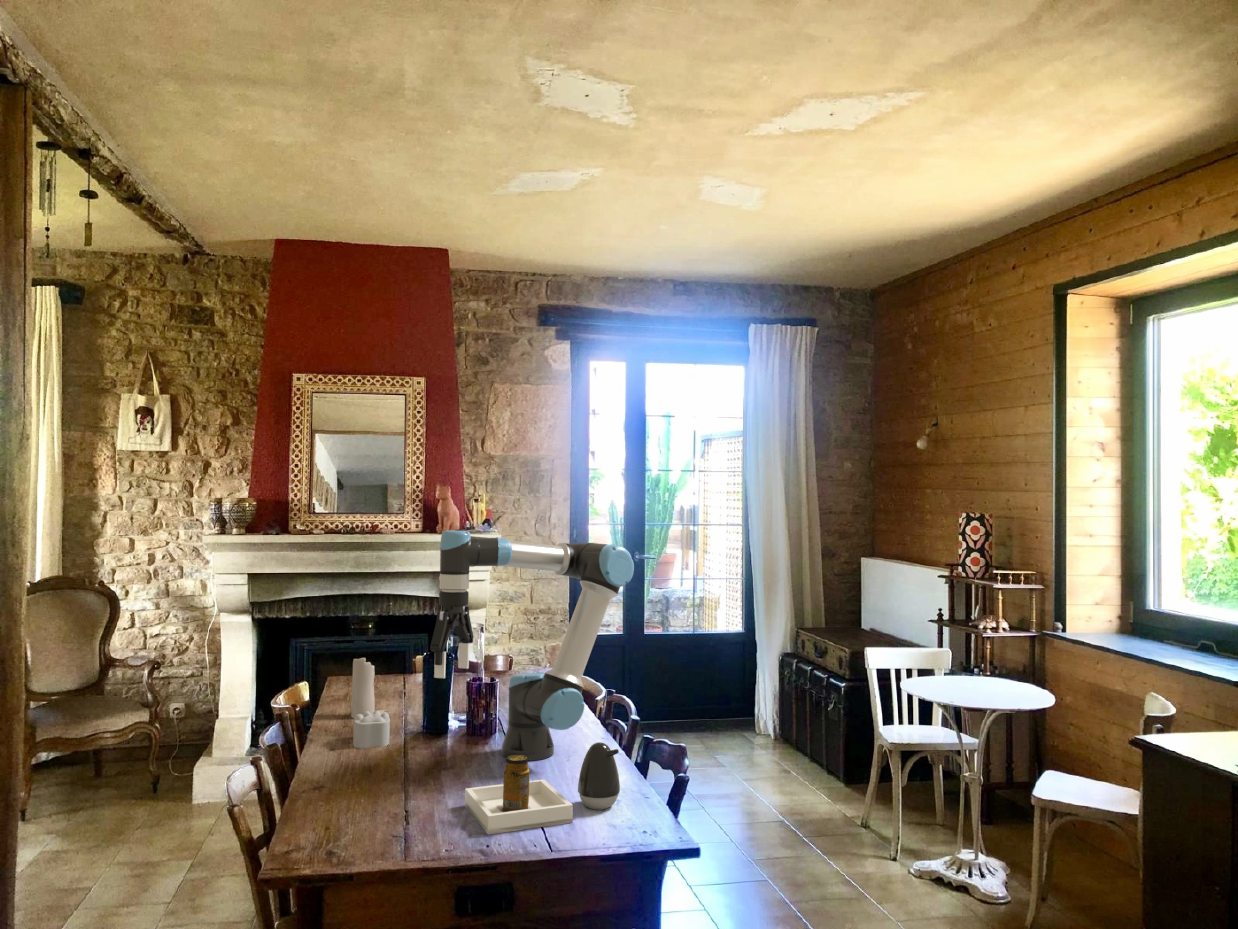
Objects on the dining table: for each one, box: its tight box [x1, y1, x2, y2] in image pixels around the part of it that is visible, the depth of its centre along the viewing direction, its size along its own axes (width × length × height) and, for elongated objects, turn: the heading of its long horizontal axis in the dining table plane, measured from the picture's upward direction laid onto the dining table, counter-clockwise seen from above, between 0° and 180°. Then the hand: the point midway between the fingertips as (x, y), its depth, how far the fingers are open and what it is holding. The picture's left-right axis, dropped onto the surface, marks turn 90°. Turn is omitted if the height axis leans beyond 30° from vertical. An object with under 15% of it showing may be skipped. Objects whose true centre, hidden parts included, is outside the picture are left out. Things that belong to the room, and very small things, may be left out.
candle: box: [350, 657, 387, 719], centre depth 302 cm, size 7×14×20 cm, turn 148°
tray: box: [464, 779, 574, 836], centre depth 210 cm, size 20×20×4 cm
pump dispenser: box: [577, 742, 621, 810], centre depth 217 cm, size 10×10×15 cm
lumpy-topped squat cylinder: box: [352, 710, 391, 749], centre depth 268 cm, size 10×13×9 cm
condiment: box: [497, 755, 532, 812], centre depth 210 cm, size 7×8×12 cm
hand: (451, 673), depth 231 cm, fingers open, 13 cm apart
